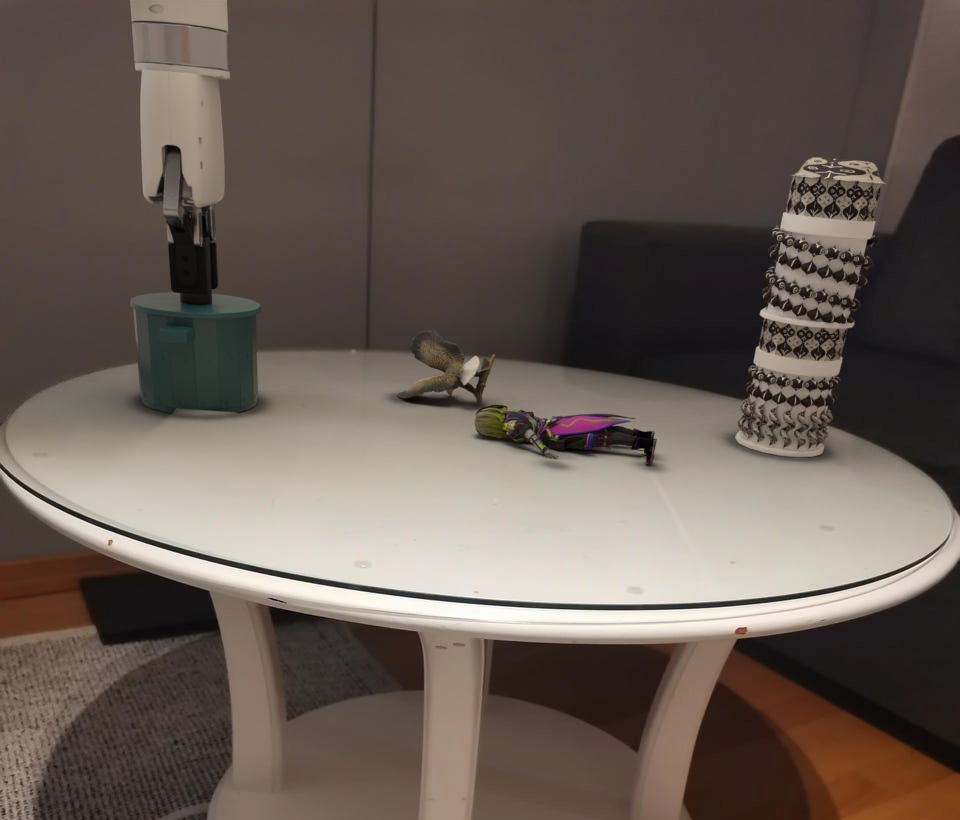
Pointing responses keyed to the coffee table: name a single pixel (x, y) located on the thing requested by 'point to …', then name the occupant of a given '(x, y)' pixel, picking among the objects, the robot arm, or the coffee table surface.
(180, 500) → the coffee table surface
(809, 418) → the decorative candle
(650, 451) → the character figure
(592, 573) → the coffee table surface
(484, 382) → the eagle figurine
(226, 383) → the pot
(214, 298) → the lid
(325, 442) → the coffee table surface
